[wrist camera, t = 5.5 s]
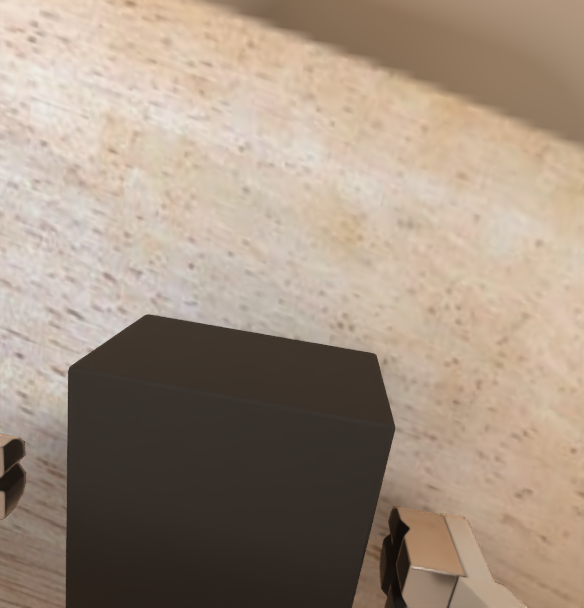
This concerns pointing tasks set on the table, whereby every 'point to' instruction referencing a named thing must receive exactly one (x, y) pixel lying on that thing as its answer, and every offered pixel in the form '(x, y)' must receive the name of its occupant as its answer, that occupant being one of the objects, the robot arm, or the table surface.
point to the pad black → (221, 469)
